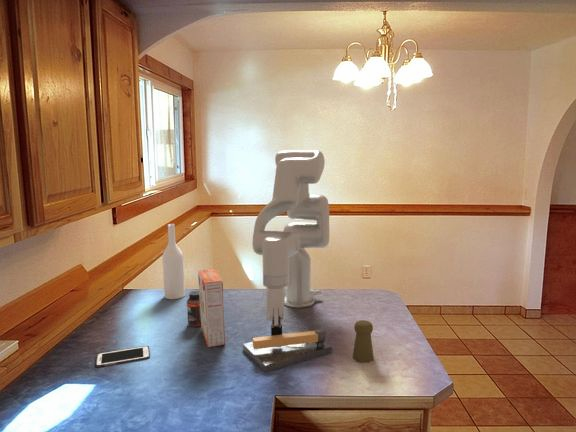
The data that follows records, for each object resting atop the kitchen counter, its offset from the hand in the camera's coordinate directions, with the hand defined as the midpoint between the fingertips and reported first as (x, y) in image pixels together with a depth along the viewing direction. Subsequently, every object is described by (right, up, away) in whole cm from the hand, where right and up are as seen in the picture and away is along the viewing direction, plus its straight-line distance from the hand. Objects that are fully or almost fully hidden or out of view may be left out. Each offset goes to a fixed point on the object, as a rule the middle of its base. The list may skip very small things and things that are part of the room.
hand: (276, 338), depth 129 cm
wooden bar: (+4, -1, -2) cm, 5 cm away
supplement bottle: (-28, -1, +21) cm, 35 cm away
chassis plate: (+3, -4, +1) cm, 5 cm away
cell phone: (-45, -6, -1) cm, 45 cm away
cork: (+25, -5, -3) cm, 26 cm away
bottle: (-43, +3, +49) cm, 66 cm away
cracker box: (-21, -3, +11) cm, 24 cm away
